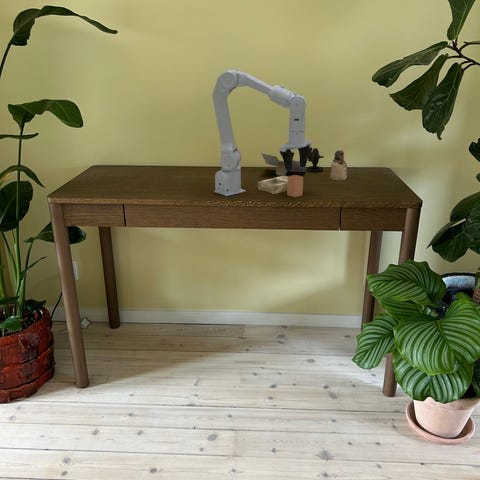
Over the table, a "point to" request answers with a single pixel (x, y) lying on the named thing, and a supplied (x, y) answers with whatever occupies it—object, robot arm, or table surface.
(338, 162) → the figurine
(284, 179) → the beige piece
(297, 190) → the block
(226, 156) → the robot arm
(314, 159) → the webcam
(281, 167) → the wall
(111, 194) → the table surface
